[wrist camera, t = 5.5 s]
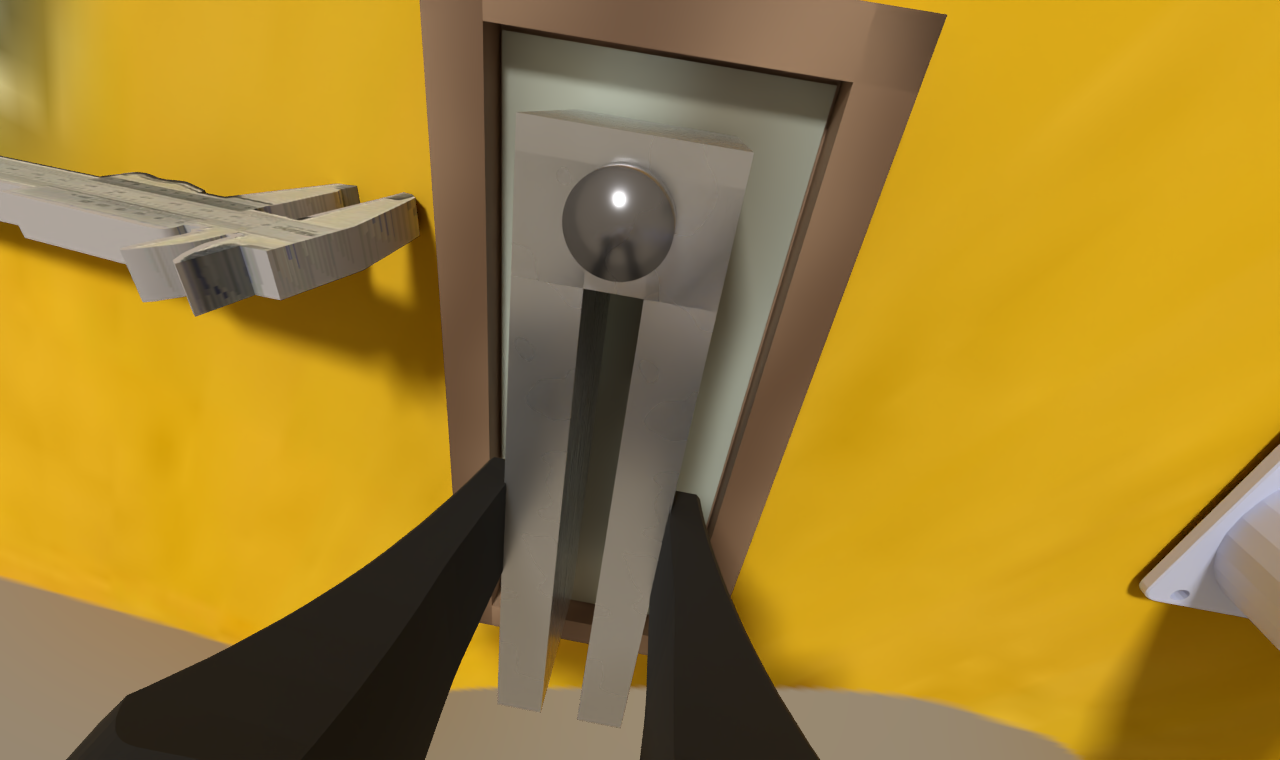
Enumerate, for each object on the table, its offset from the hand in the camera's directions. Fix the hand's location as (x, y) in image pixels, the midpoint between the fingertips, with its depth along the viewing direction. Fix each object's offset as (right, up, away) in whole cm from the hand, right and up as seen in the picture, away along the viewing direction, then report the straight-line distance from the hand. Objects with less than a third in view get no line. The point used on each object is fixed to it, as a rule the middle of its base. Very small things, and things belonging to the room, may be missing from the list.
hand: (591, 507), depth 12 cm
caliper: (-15, +9, +3) cm, 17 cm away
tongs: (0, +2, +2) cm, 3 cm away
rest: (+1, +3, +4) cm, 5 cm away
